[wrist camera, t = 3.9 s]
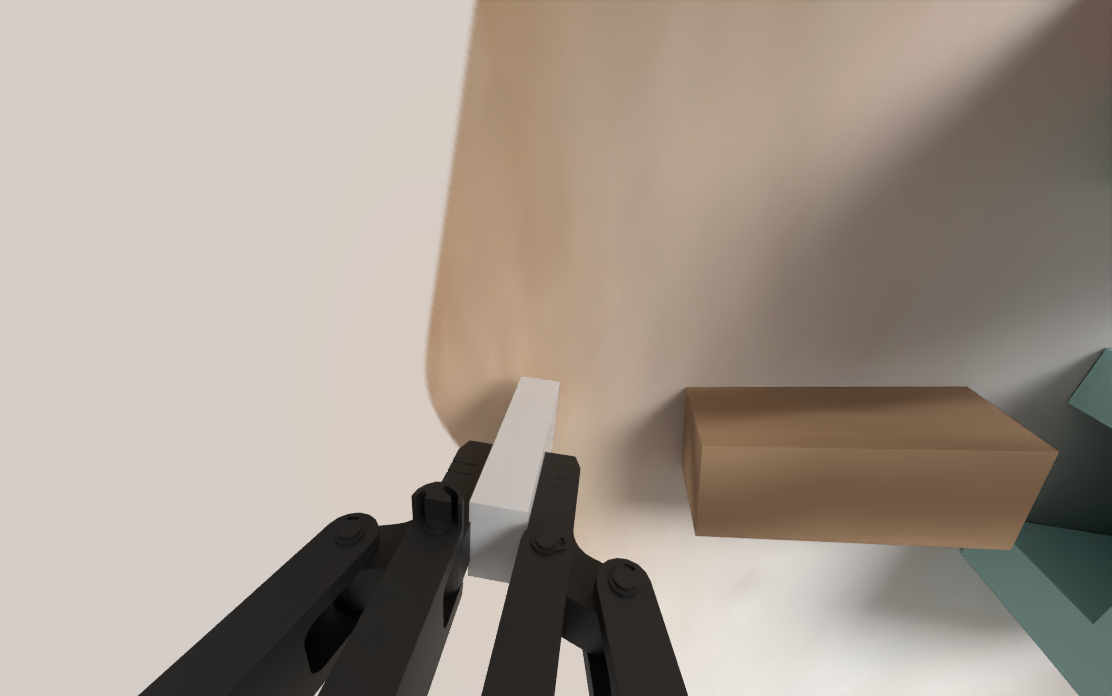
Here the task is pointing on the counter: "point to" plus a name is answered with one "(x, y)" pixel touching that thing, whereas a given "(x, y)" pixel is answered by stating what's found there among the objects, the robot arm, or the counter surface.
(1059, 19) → the counter surface
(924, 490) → the brown wooden bar
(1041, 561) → the block
